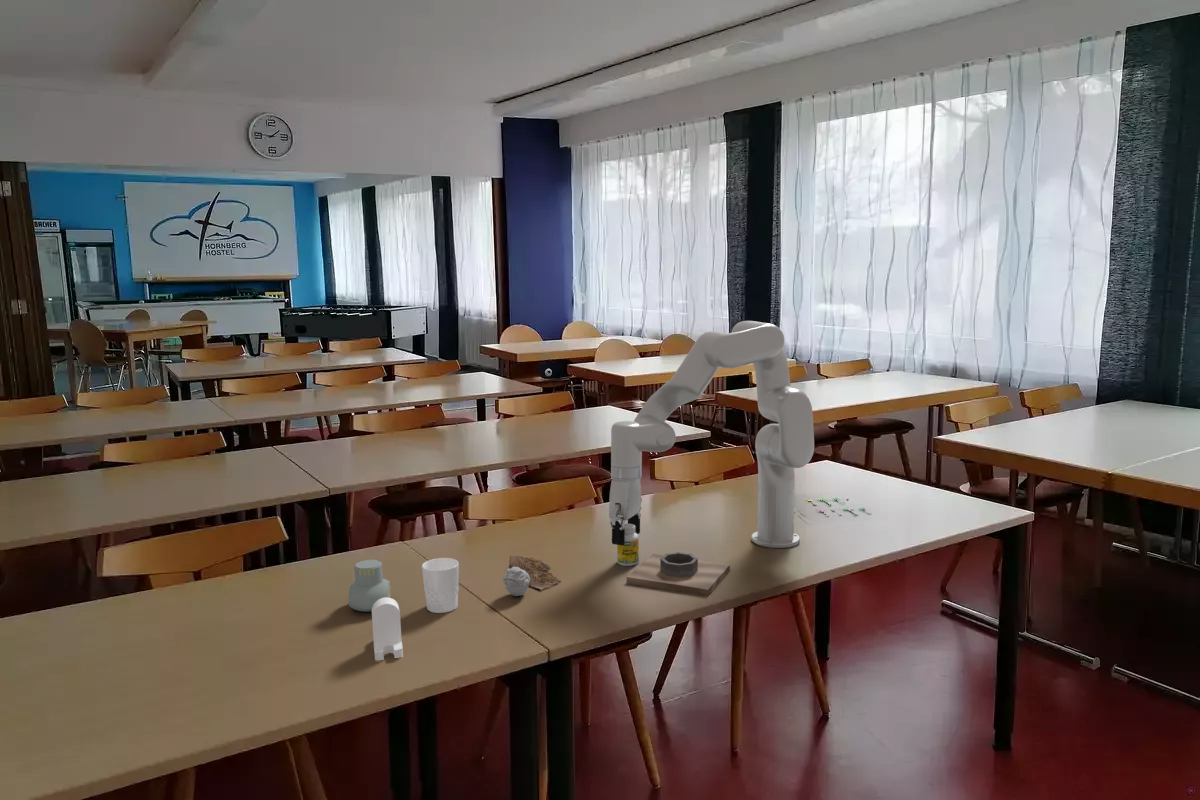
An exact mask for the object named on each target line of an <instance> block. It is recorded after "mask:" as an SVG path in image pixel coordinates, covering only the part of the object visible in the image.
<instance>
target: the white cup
mask: <svg viewBox="0 0 1200 800" xmlns="http://www.w3.org/2000/svg"><path fill="white" fill-rule="evenodd" d="M459 569H460V568H459V561H458V560H456V559H455V558H450V557H438V558H433V559H429V560H426V561H425V562H423V563H422V565H421V570H422V581H423V587H424V588H423V589H424V597H425V600H426V609H427V611H429V612H430V613H435V614H444V613H449V612H452V611H455V610H456V609H458V606H459V580H460V579H459V574H460V573H459ZM454 609H455V610H454Z"/></svg>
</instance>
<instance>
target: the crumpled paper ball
mask: <svg viewBox="0 0 1200 800" xmlns="http://www.w3.org/2000/svg"><path fill="white" fill-rule="evenodd" d="M502 578H503V579H502V582H503V585H505V589H506V590H507V592H508V593H509V594H510V595H511V596H515V597H519V596H523V595H525V594H526V592H527V591H528V589H529V586H530V585H529V582H530V577H529V575H528V573H527V572H526V571H524V570H522V569H520V568H519V567H512V568H511V569H510V568H506V571H505V573H504V575H503V577H502Z"/></svg>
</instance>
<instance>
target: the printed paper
mask: <svg viewBox="0 0 1200 800" xmlns="http://www.w3.org/2000/svg"><path fill="white" fill-rule="evenodd" d="M818 499H819V500H818V501H820V500H821V501H820V502H824V501H825V502H824V503H826V502H827V503H828V504H829V505H828V504H827V503H826V504H827V505H828V506H830V505H832V506H833V504H832V503H829V502H828V501H829V499H828V498H824V497H820V498H818ZM831 499H832V500H833V501H836V500H837V501H838V503H840V502H841V503H840V504H845V502H842V500H843V501H844V499H843V498H842V499H840V498H838V497H836V498H835V499H834V498H831ZM831 499H830V500H831ZM822 500H823V501H822ZM808 501H813V500H812V499H810V500H809V499H808ZM837 501H836V502H837ZM850 508H851V507H845V508H838V509H839V510H840V509H841V510H843V511H844V512H846V509H850ZM860 508H861V509H865V507H860ZM815 510H816V511H817V509H815ZM819 510H820V511H821V512H823V511H824V510H823V509H819ZM819 510H818V513H821V512H820V511H819ZM849 511H852V510H849ZM849 511H848V512H849ZM852 513H855V512H854V511H852ZM852 513H851V514H852ZM825 514H826V515H825ZM839 514H840V515H841V516H842V514H841V513H839ZM855 514H856V515H857V513H855ZM823 515H825V516H826V517H830V514H829V515H827V513H826V511H824V513H823ZM857 516H858V515H857Z"/></svg>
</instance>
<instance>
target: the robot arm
mask: <svg viewBox="0 0 1200 800" xmlns="http://www.w3.org/2000/svg"><path fill="white" fill-rule="evenodd" d="M784 344H785V335H784V333H783V331H782V329H780V327H779V326H777V325H775V324H773V323H768V322H761V321H756V320H755V321H754V320H742V321H740V322H737V323H736V324H735V325H734V326H733V328H732V329H731V332H728V333H727V332H721V331H714V330H713V331H707V332H704V333H702V334H701V335H700V336H699V337H698V338H697V340H696V341H695V342H694V344H693V345H692V347H691V349H690V350H689V351H688V353H687V354H686V356H685V358H683V361H682V362H681V363H680V365H679V367H678V368H677V369H676V371H675V372H674V374H673V376H672V377H671V378H670V379H669V380H667V381H666V382H665V383H664V384H663V385H662V386H661V387H659V388H658V389H657V390H656V391H655V392H654V393H652V395H651V396H650V397H649V398H648V399H647V400H646V402H645V403H644V404H643V406H642V407H641V409H640V410H639V412H638V413H637V415H636V417H635V418H634V420H633V421H632V420H631V421H629V420H628V421H627V420H624V421H617V422H614V423H613V424H612V426H611V428H610V430H611V431H610V433H611V434H610V441H611V442H610V452H611V453H610V455H611V456H610V466H611V467H610V472H611V473H610V476H611V477H610V478H611V483H610V490H609V499H608V500H609V503H608V505H609V506H608V517H609V521H610V529H611V544H612V545H622V546H623V545H624V544H625V529H623V527H624V524H626V521H627V524H633V525H635V533H636V534H637V535H639V534H640V533H641V516H642V514H641V510H642V501H643V498H642V488H641V479H642V478H643V477H642V476H643V475H642V473H643V472H642V471H643V468H642V465H643V463H642V461H643V460H642V459H643V457H642V456H643V452H651V453H661V452H666V451H668V450H670V449H672V447H673V446H674V444H675V443H676V439H677V435H676V432H675V429H674V428H673V427H672V426H671V424H669V423H667V422H666V421H667V419H668V418H669V417H670V415H671V414H673V412H674V411H676V410H677V409H678V408H680V407H681V406H683V405H685V404H687V403H690V402H693V401H696V400H697V399H699V398H701V397H702V395H703V394H704V392H705V390H706V388H707V387H708V385H709V384H710V383H711V381H713V378H714V377H715V375H716V374H717V373H718V371H719V370H720V368H722V369H734V368H738V367H739V368H740V367H743V366H747V365H750V364H751V365H753V367H754V373H755V381H756V397H757V407H758V412H759V413H760V415H761V416H762V417H764V418H765V419H767V420H769V421H772V422H775V423H769V424H766V425H764V426H763V427H761V428H760V430H758V432H757V434H756V437H755V442H754V443H755V446H754V447H755V453H756V454H755V455H756V459H757V469H758V470H757V472H758V473H757V474H758V476H757V477H758V478H757V479H758V481H757V483H758V484H757V531H755V532H753V533H752V534H751V541H752V542H753V543H754V544H756V545H758V546H761V547H764V548H770V549H771V548H773V549H787V548H793V547H795V546H797V545H798V544H800V542H801V539H800V536H799V535H798V534H797V533H795V513H794V508H795V503H796V502H795V500H796V499H795V498H796V497H795V493H796V492H795V490H796V473H795V469H800V468H804V467H805V466H807V464H809V462H811V460H812V457H813V456H814V451H815V433H814V431H815V429H814V415H813V405H812V403H811V399H810V398H809V397H808V395H807V394H806V393H805V392H804V391H802V390H801V389H799V388H794V387H792V384H791V377H790V369H789V363H788V359H787V355H786V353H785V351H784V349H783V348H784V346H785V345H784Z"/></svg>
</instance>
